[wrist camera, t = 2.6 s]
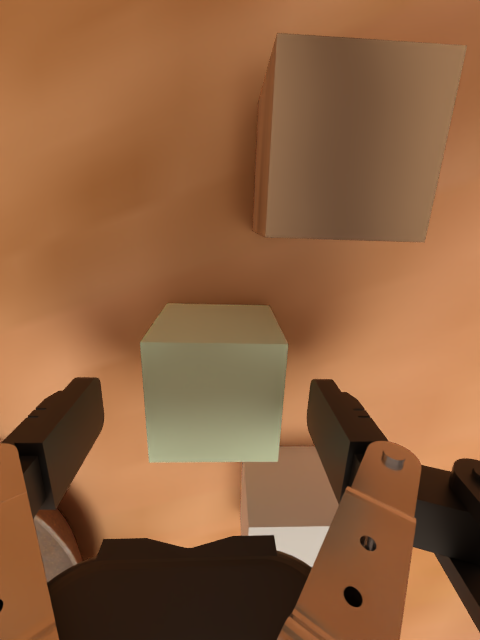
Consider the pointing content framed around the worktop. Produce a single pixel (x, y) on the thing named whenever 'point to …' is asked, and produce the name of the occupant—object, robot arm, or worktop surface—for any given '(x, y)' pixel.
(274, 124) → the walnut block
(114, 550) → the robot arm
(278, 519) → the grey block
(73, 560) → the plant saucer
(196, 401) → the green block
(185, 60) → the worktop surface
